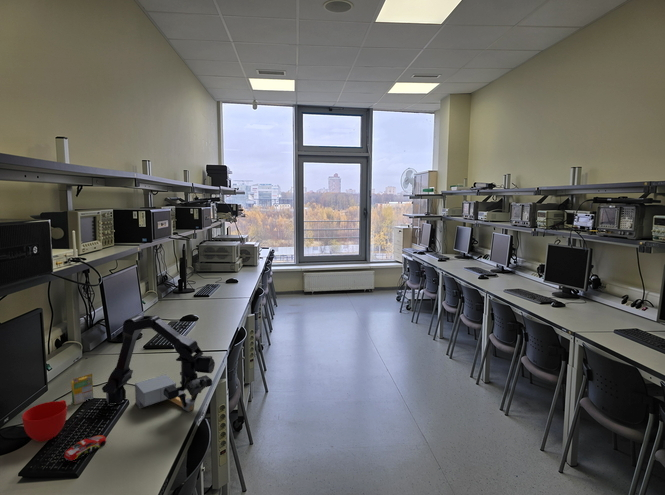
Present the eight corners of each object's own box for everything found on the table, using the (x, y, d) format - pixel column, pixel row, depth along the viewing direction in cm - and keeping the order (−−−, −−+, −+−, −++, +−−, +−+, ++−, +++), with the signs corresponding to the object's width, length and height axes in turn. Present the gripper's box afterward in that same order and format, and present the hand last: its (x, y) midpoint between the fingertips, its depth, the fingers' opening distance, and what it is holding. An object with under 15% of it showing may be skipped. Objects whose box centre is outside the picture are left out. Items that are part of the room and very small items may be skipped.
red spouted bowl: (82, 419, 149) (81, 396, 148) (52, 447, 133) (50, 421, 131) (48, 419, 149) (47, 395, 148) (14, 447, 132) (12, 420, 131)
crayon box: (91, 396, 167) (90, 371, 166) (93, 398, 165) (92, 373, 164) (71, 402, 161) (70, 376, 160) (74, 405, 160) (73, 379, 158)
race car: (100, 438, 139) (100, 428, 139) (109, 443, 137) (109, 433, 136) (61, 459, 127) (61, 448, 127) (71, 465, 125) (70, 454, 125)
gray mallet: (188, 411, 157) (188, 403, 157) (166, 399, 165) (166, 391, 165) (194, 408, 160) (194, 400, 159) (172, 396, 168) (172, 389, 167)
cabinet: (144, 414, 155) (144, 393, 154) (135, 403, 163) (135, 383, 162) (176, 403, 164) (176, 383, 163) (166, 393, 172) (165, 374, 171)
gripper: (173, 384, 145) (174, 422, 147) (218, 370, 158) (218, 405, 160) (162, 374, 153) (163, 410, 155) (206, 362, 166) (206, 395, 168)
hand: (188, 405), depth 159 cm, fingers closed on gray mallet, 3 cm apart
